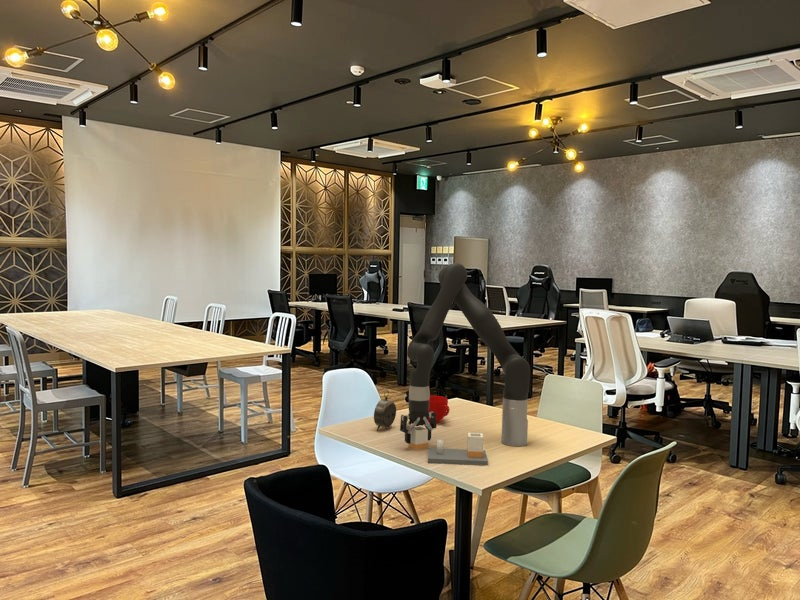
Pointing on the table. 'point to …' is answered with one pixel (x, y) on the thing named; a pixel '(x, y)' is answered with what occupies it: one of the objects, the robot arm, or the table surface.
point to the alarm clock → (384, 413)
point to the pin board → (460, 452)
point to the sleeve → (419, 438)
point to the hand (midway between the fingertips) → (418, 441)
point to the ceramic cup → (438, 407)
